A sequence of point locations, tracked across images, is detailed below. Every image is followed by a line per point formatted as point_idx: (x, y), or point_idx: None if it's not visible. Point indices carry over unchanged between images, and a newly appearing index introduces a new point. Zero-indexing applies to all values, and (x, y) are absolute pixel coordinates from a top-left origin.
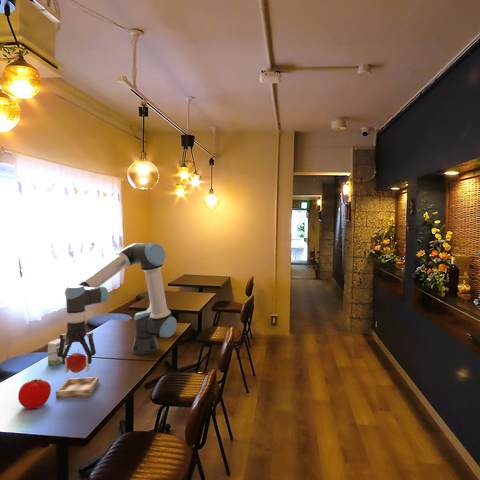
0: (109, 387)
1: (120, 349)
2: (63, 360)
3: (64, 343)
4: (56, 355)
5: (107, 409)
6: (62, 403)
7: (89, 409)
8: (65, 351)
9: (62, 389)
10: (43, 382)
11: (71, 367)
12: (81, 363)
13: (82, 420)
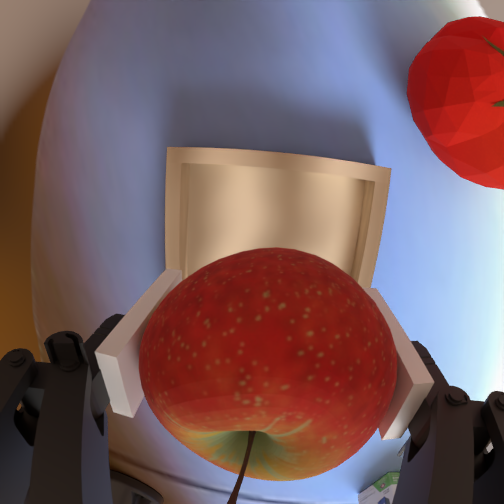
0: (111, 252)
1: None
2: (434, 373)
3: None
4: (391, 499)
5: (88, 20)
6: (322, 89)
7: (159, 12)
8: (460, 467)
9: (361, 233)
10: (487, 65)
11: (320, 257)
12: (183, 283)
13: None
